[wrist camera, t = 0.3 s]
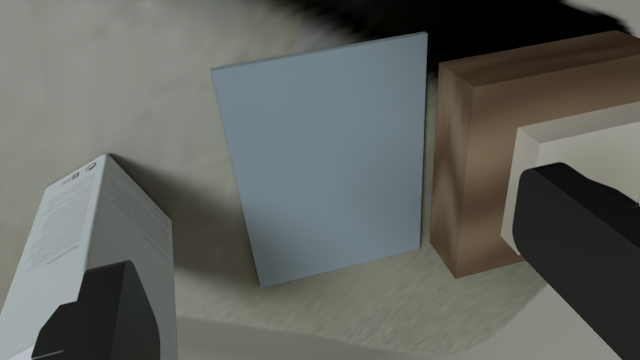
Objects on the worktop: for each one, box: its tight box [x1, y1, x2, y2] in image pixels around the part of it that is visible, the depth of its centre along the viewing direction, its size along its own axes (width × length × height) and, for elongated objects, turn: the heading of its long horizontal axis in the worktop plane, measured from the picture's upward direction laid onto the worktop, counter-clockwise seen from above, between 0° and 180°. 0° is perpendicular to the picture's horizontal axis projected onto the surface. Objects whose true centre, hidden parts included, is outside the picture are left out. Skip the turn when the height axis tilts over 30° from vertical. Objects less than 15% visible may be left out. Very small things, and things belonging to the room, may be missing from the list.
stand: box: [430, 30, 640, 279], centre depth 31 cm, size 14×12×4 cm
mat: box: [211, 32, 428, 288], centre depth 30 cm, size 16×12×1 cm
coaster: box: [501, 101, 640, 255], centre depth 29 cm, size 8×8×2 cm
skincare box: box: [0, 154, 178, 360], centre depth 22 cm, size 6×4×12 cm
